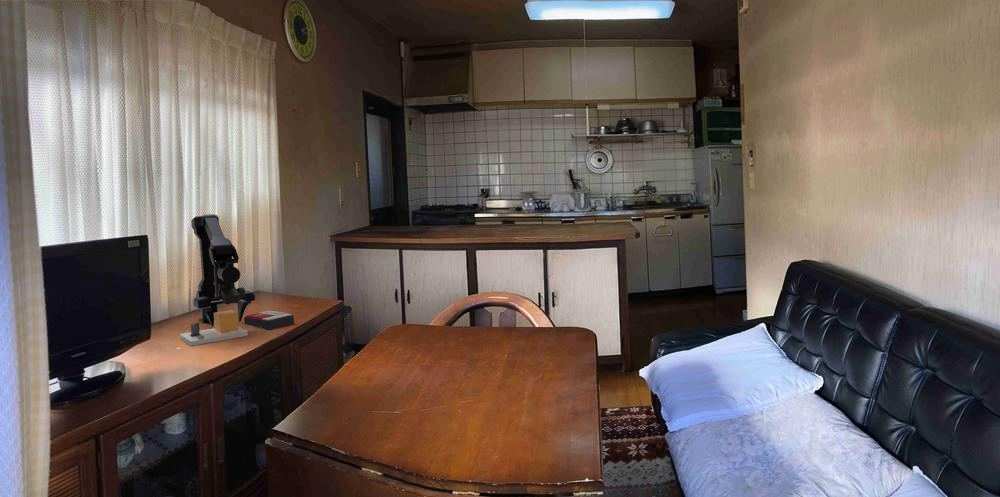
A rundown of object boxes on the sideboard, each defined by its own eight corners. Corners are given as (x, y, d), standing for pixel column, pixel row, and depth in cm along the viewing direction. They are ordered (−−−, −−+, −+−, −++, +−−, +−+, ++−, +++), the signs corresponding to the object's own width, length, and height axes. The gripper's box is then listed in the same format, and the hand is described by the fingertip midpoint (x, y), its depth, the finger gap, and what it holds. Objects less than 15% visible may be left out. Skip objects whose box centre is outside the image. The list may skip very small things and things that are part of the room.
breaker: (190, 335, 193) (189, 323, 193) (198, 333, 195) (197, 322, 195) (192, 336, 192) (191, 324, 191) (200, 335, 193) (200, 323, 193)
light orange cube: (214, 329, 200) (213, 312, 200) (232, 326, 204) (231, 310, 204) (220, 333, 196) (219, 315, 195) (238, 329, 200) (237, 313, 199)
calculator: (269, 309, 223) (293, 312, 214) (270, 320, 223) (294, 324, 215) (243, 315, 214) (267, 318, 205) (244, 326, 214) (268, 330, 206)
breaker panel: (180, 338, 195) (179, 332, 194) (235, 328, 207) (234, 323, 207) (190, 346, 186) (190, 339, 186) (247, 335, 198) (247, 329, 198)
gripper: (202, 286, 186) (204, 333, 188) (260, 279, 199) (262, 323, 201) (191, 281, 194) (194, 326, 196) (248, 275, 207) (250, 317, 209)
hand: (226, 323), depth 200 cm, fingers open, 9 cm apart
